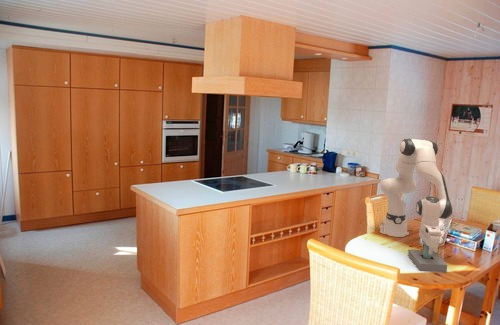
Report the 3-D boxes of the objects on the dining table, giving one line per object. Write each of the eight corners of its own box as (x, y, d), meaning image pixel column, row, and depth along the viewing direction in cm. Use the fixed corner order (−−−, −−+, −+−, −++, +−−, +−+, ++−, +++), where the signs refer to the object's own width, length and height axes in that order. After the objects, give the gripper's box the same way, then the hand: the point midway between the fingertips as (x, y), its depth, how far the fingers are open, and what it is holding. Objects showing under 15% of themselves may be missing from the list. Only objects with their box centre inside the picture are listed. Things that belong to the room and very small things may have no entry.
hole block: (407, 256, 228) (408, 249, 228) (432, 257, 227) (433, 250, 227) (419, 270, 209) (420, 263, 208) (446, 272, 207) (447, 265, 207)
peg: (421, 262, 220) (422, 245, 219) (428, 262, 220) (430, 245, 218) (423, 265, 216) (425, 247, 215) (431, 265, 216) (433, 248, 214)
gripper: (417, 220, 225) (415, 243, 228) (430, 232, 205) (427, 257, 207) (428, 221, 225) (426, 244, 227) (442, 233, 205) (439, 258, 207)
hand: (426, 250), depth 217 cm, fingers open, 8 cm apart
